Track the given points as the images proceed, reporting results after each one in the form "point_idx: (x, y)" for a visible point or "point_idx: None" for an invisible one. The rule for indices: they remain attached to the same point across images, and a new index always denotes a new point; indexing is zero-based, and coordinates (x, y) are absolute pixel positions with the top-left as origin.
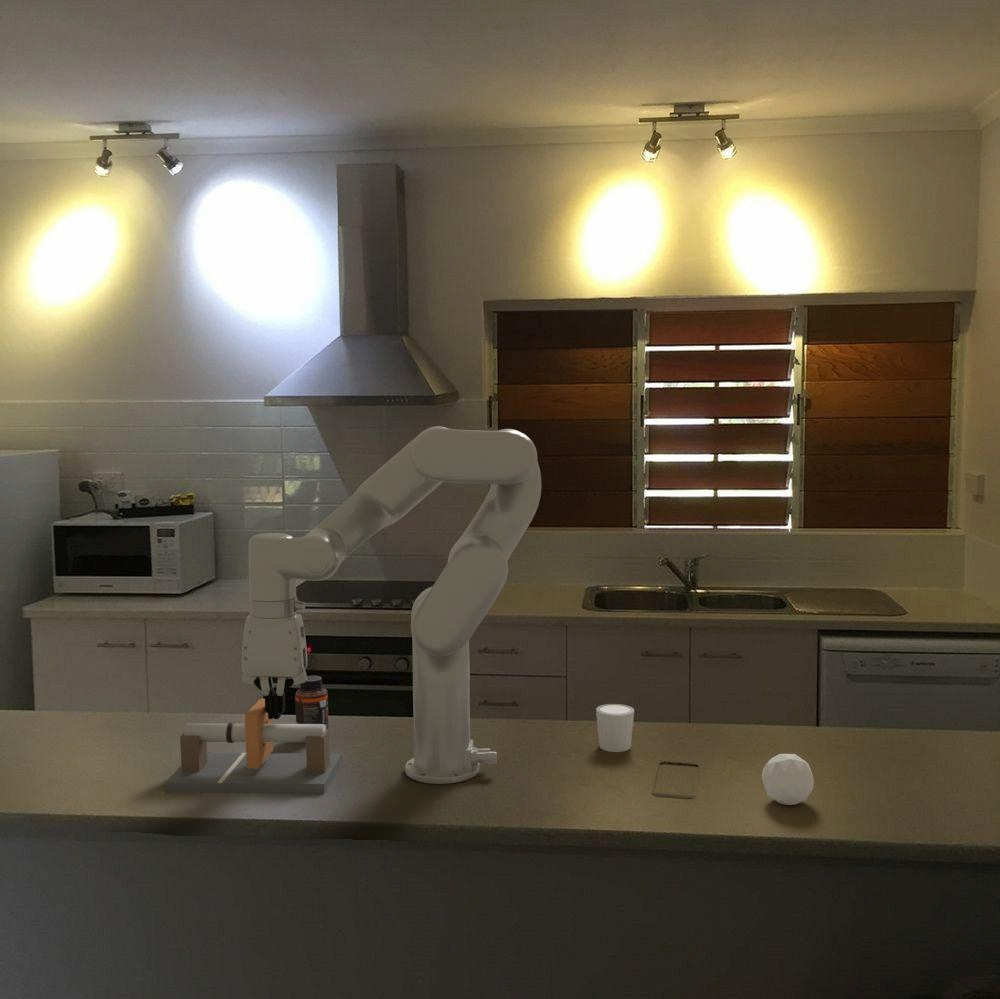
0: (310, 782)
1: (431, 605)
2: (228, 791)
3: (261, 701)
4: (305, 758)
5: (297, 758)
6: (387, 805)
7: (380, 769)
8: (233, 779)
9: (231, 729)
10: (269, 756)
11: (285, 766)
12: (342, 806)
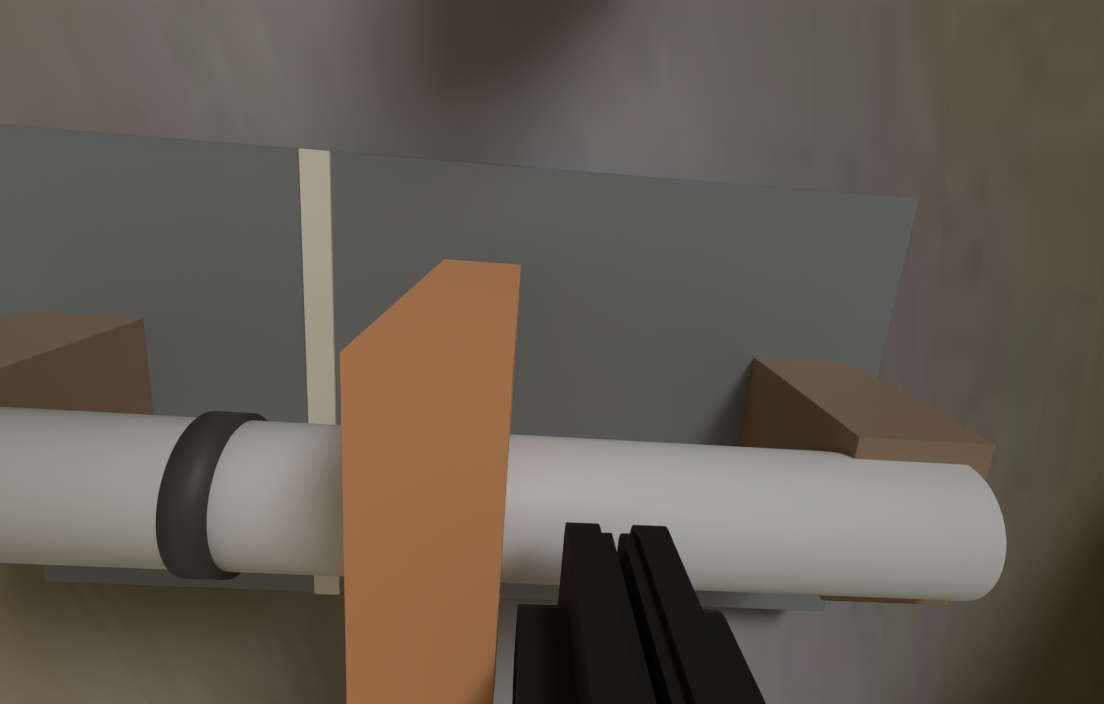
0: (759, 593)
1: None
2: None
3: (397, 481)
4: (710, 270)
5: (663, 265)
6: (1041, 691)
7: (1076, 314)
8: None
9: (226, 577)
10: (490, 224)
11: (612, 388)
12: (873, 697)
